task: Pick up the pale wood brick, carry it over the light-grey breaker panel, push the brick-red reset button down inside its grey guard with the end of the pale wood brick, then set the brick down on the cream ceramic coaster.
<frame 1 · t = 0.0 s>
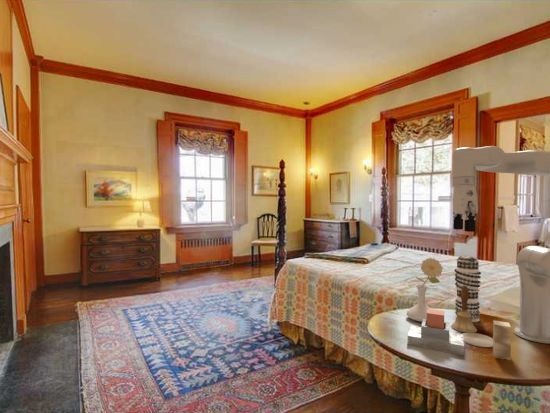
hand: (463, 230, 117), 37 cm above the table, tool pointing down, fingers open, 9 cm apart
flower in vase: (423, 320, 129), on the table
coaster: (477, 340, 110), on the table
pale wood brick: (501, 356, 99), on the table
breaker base: (435, 343, 107), on the table
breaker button: (435, 318, 107), point 8 cm above the table, slide at 0.0 cm
decorative candle: (467, 318, 132), on the table
hand bell: (463, 329, 121), on the table
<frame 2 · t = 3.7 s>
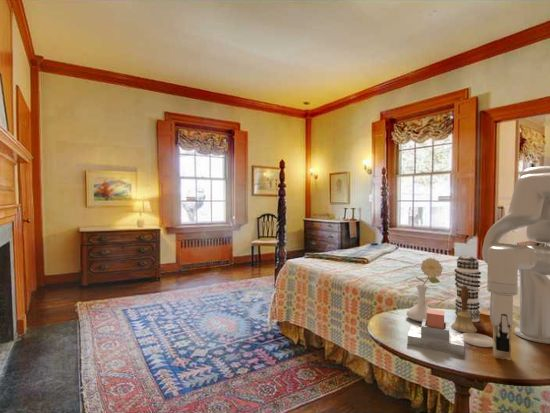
hand: (501, 347, 99), 3 cm above the table, tool pointing down, fingers closed on pale wood brick, 4 cm apart
pale wood brick: (501, 356, 99), on the table, touching gripper
everything else where it was.
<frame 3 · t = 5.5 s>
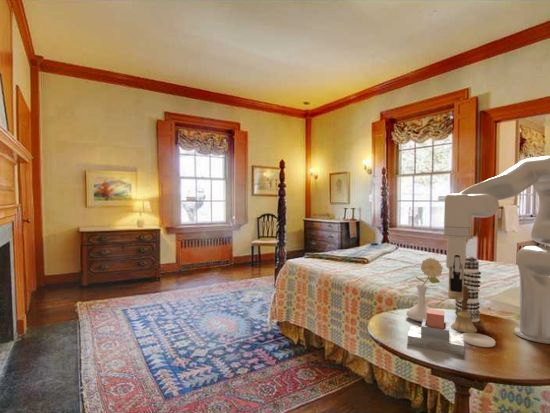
hand: (455, 289, 104), 19 cm above the table, tool pointing down, fingers closed on pale wood brick, 4 cm apart
pale wood brick: (455, 298, 104), point 16 cm above the table, touching gripper
everything else where it was.
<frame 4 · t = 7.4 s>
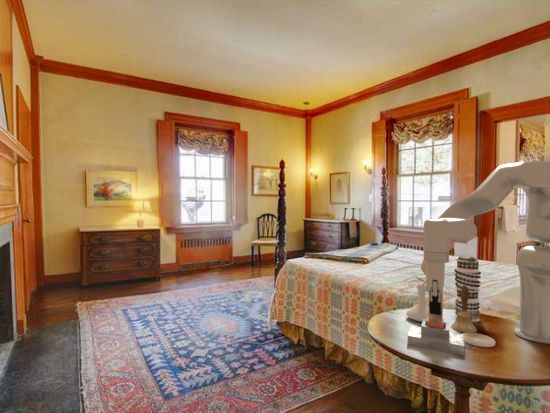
hand: (435, 311, 107), 11 cm above the table, tool pointing down, fingers closed on pale wood brick, 4 cm apart
pale wood brick: (435, 320, 107), point 8 cm above the table, touching gripper
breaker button: (435, 326, 107), point 6 cm above the table, slide at 2.7 cm
everything else where it was.
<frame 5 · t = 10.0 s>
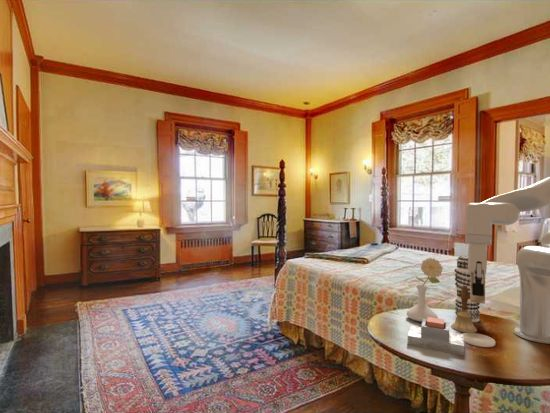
hand: (477, 293, 110), 16 cm above the table, tool pointing down, fingers closed on pale wood brick, 4 cm apart
pale wood brick: (477, 301, 110), point 13 cm above the table, touching gripper
everything else where it was.
when the fingers open (4 cm above the table, at t = 11.9 s): pale wood brick stays where it is, resting on coaster.
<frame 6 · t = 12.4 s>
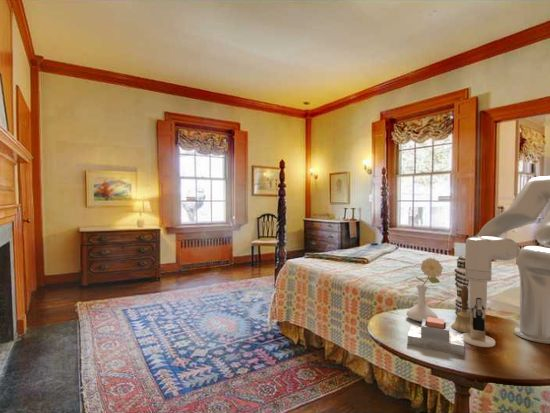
hand: (477, 325, 110), 5 cm above the table, tool pointing down, fingers open, 9 cm apart
pale wood brick: (477, 338, 110), point 1 cm above the table, touching coaster
everything else where it was.
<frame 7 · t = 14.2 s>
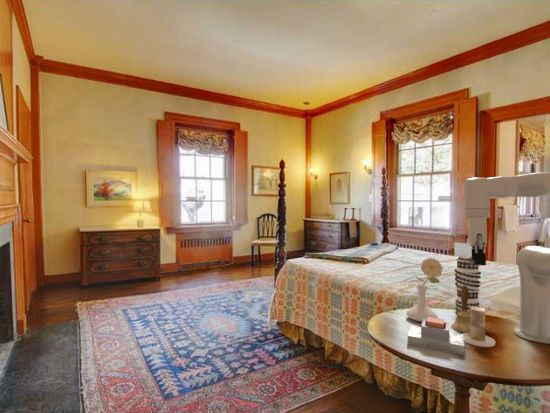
hand: (478, 262, 113), 26 cm above the table, tool pointing down, fingers open, 9 cm apart
nothing on the table moved.
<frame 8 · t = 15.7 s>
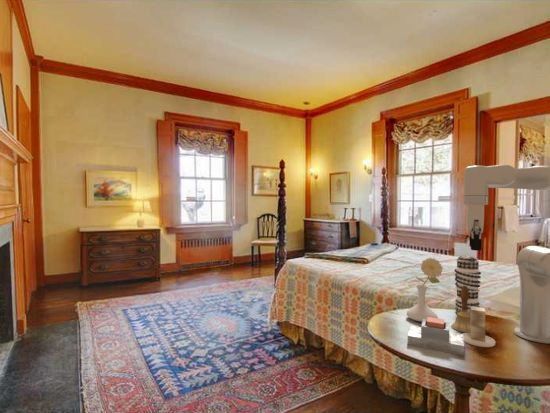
hand: (475, 248, 116), 30 cm above the table, tool pointing down, fingers open, 9 cm apart
nothing on the table moved.
at the end: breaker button slide at 2.8 cm; pale wood brick inside the target area on the coaster (0.0 cm from its centre), point 0.8 cm above the coaster's base; the gripper is holding nothing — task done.
